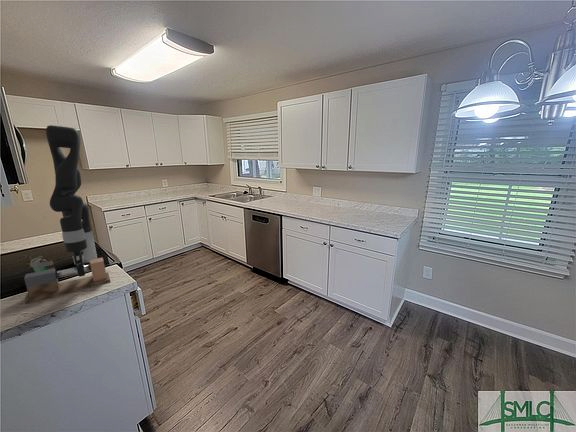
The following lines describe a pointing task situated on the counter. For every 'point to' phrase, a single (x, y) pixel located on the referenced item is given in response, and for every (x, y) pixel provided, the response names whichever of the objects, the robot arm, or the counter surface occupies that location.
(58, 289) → the dock
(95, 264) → the socket
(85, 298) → the counter surface
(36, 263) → the food container
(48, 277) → the sleeve
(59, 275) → the tube
